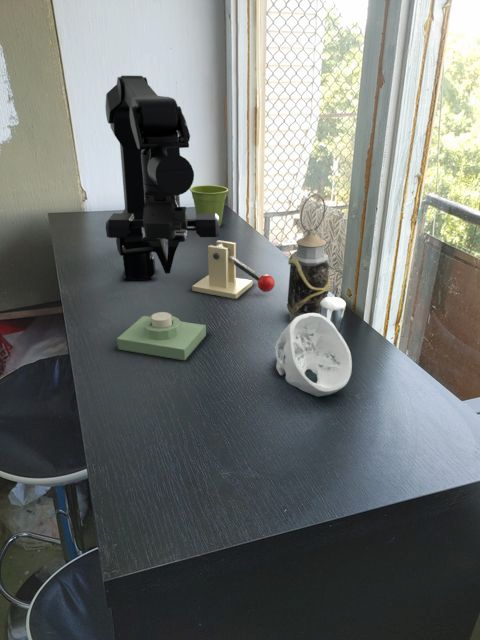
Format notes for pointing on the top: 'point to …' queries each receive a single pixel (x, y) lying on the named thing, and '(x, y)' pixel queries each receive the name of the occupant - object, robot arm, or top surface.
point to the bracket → (222, 273)
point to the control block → (162, 338)
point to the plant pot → (209, 199)
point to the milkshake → (333, 309)
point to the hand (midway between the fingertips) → (167, 272)
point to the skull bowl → (314, 355)
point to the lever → (252, 273)
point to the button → (161, 320)
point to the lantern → (308, 273)
